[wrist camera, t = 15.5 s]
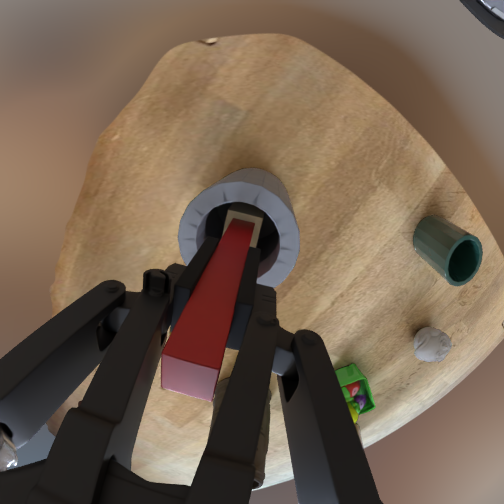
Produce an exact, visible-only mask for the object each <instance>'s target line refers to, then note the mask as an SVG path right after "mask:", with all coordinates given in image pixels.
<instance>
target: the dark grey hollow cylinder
mask: <svg viewBox="0 0 504 504" xmlns="http://www.w3.org/2000/svg"><path fill="white" fill-rule="evenodd" d="M229 379H230V378H227V379H224V380H222V381H221V382H219V383H218V384H217V386H216V390H215V398H214V400H213V407H214V409H213V415H212V421H211V427H210V432H209V437H210V434H211V431H212V428H213V425H214V423H215V420H216V417H217V414H218V411H219V408H220V405H221V403H222V400H223V397H224V394H225V391H226V388H227V385H228V382H229ZM270 400H271V391H270V390H269V389H268V395H267V400H266V405H265V411H264V416H263V421H262V426H261V431H260V436H259V441H258V446H257V450H256V455H255V460H254V465H255V467H256V471H255V477H254V482H253V486H252V489H256V488H259V487H261V486H262V485H263V480H264V479H265V473H264V471H265V459H266V454H267V451H268V444H269V425H270V404H269V403H270ZM209 437H208V439H209Z"/></svg>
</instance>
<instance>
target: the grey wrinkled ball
mask: <svg viewBox="0 0 504 504" xmlns="http://www.w3.org/2000/svg"><path fill="white" fill-rule="evenodd" d="M451 346H452V343H451V340H450V338H449V337H448V335H447V334H446V333H444V332H441V330H439V329H436V328H434V327H433V328H432V327H424V328H422V329H421V330H419V331H418V332H417V334H416V335H415V338H414V348H415V351H414V354H415V356H416V357H417V358H418V359H420V360H424V361H426V362H432V361H438V362H441V361H443V360H444V358H445V356H446V355H447V353H448V352H449V351H450V349H451Z"/></svg>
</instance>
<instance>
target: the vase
mask: <svg viewBox="0 0 504 504" xmlns="http://www.w3.org/2000/svg"><path fill="white" fill-rule="evenodd" d="M233 202H244V203H248V204H252V205H255V206H256V207H258V208H260V209H261V210H263V211H264V218H263V222H262V226H261V230H260V234H259V238H258V241H257V245H256V248H258V249H261V252H260V260H259V268H258V276H257V284H262V285H266V286H270V287H273V288H275V287H276V286H278V285H279V284H280V283H282V282H283V281H284V280H285V278H286V277H287V276H288V275H289V273H290V272H291V271H292V269H293V268H294V266H295V263H296V260H297V257H298V254H299V251H300V250H299V249H300V234H299V228H298V225H297V221H296V218H295V214H294V211H293V208H292V205H291V201H290V198H289V195H288V193H287V190H286V188H285V186H284V185H283V184H282V182H281V181H280V180H279V179H278V178H277V177H276V176H275V175H273V174H271V173H270V172H268V171H265V170H262V169H258V168H245V169H240V170H238V171H235V172H233V173H231V174H229V175H228V176H226V177H224V178H223V179H221V180H219V181H218V182H216V183H214V184H213V185H211V186H210V187H208V188H206V189H205V190H203V191H202V192H201V193H200V194H199V195H198V196H197V197H195V198H194V199H193V200H192V201H191V202H190V203H189V205H188V206H187V208H186V210H185V212H184V214H183V216H182V218H181V220H180V225H179V232H178V242H179V247H180V253H181V256H182V258H183V260H184V262H185V264H186V266H187V265H188V264H189V262H190V261H191V260H192V258H193V257H194V255H195V254H196V252H197V251H198V249H199V248H200V247H201V245H202V244H203V242H204V241H205V240H206V238H207V237H208V236H210V237H214V238H218V239H219V242H220V240H221V238H222V234H223V230H224V225H225V220H226V216H227V211H228V209H229V208H230V206H231V205H232V203H233ZM218 244H219V243H218Z"/></svg>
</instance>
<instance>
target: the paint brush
mask: <svg viewBox="0 0 504 504" xmlns="http://www.w3.org/2000/svg"><path fill="white" fill-rule="evenodd" d="M263 218H264V211H263V210H261V209H260V208H258V207H256V206H255V205H252V204H248V203H244V202H233V203H232V205H231V206H230V208H229V209H228V211H227V216H226V220H225V225H224V230H223V234H222V238H221V240H220V242H219V244H218V246H217V248H216V250H215V252H214V253H213V255H212V257H211V259H210V261H209V263H208V265H207V266H206V268H205V270H204V272H203V274H202V276H201V278H200V279H199V281H198V283H197V285H196V287H195V289H194V291H193V293H192V295H191V297H190V298H189V300H188V302H187V303H186V305H185V307H184V309H183V311H182V313H181V315H180V317H179V319H178V321H177V323H176V325H175V327H174V329H173V331H172V333H171V335H170V337H169V339H168V341H167V343H166V345H165V347H164V349H163V351H162V354H161V387H162V388H165V389H168V390H171V391H175V392H178V393H181V394H185V395H188V396H192V397H196V398H199V399H203V400H207V401H213V398H214V394H215V390H216V386H217V382H218V378H219V374H220V370H221V365H222V361H223V357H224V353H225V348H226V344H227V340H228V336H229V331H230V327H231V323H232V319H233V314H234V307H235V303H236V299H237V295H238V291H239V286H240V282H241V278H242V274H243V270H244V266H245V262H246V258H247V253H248V249H249V246H250V247H254V248H256V245H257V241H258V238H259V234H260V230H261V226H262V222H263Z"/></svg>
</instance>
